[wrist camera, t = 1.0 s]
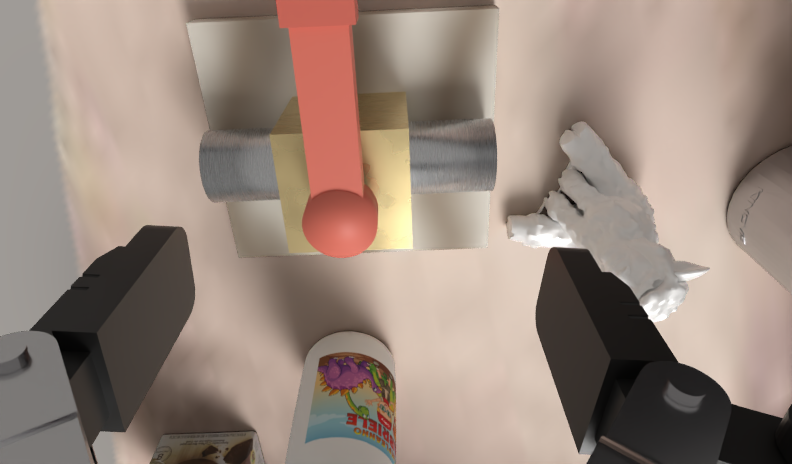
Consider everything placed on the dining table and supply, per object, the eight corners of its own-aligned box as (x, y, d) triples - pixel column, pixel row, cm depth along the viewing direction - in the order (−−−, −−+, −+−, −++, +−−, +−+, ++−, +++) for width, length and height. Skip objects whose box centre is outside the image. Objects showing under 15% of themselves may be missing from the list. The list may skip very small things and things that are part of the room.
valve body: (487, 87, 33) (509, 124, 26) (482, 191, 36) (501, 244, 30) (211, 100, 33) (170, 139, 27) (233, 201, 36) (201, 256, 30)
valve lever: (380, 225, 29) (379, 257, 26) (314, 228, 29) (306, 260, 26) (360, -93, 22) (355, -96, 19) (271, -88, 22) (254, -91, 19)
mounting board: (495, 5, 32) (499, 8, 30) (484, 237, 40) (487, 247, 38) (194, 19, 32) (186, 23, 31) (243, 246, 40) (238, 257, 38)
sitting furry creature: (571, 112, 35) (647, 190, 25) (675, 164, 37) (787, 256, 26) (497, 226, 39) (536, 334, 29) (594, 267, 41) (663, 383, 31)
